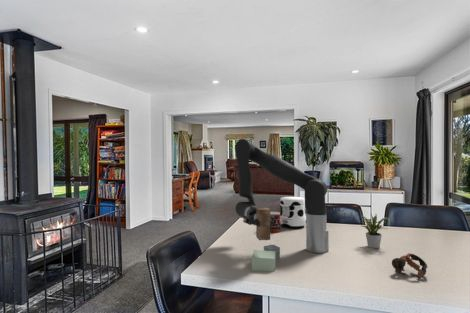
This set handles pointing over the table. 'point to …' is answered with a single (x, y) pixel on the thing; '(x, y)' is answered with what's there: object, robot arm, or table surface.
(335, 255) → the table surface
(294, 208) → the milk container
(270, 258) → the sage block
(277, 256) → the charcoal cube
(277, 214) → the canned food
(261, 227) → the walnut post
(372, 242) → the house plant
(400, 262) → the brown arched piece
